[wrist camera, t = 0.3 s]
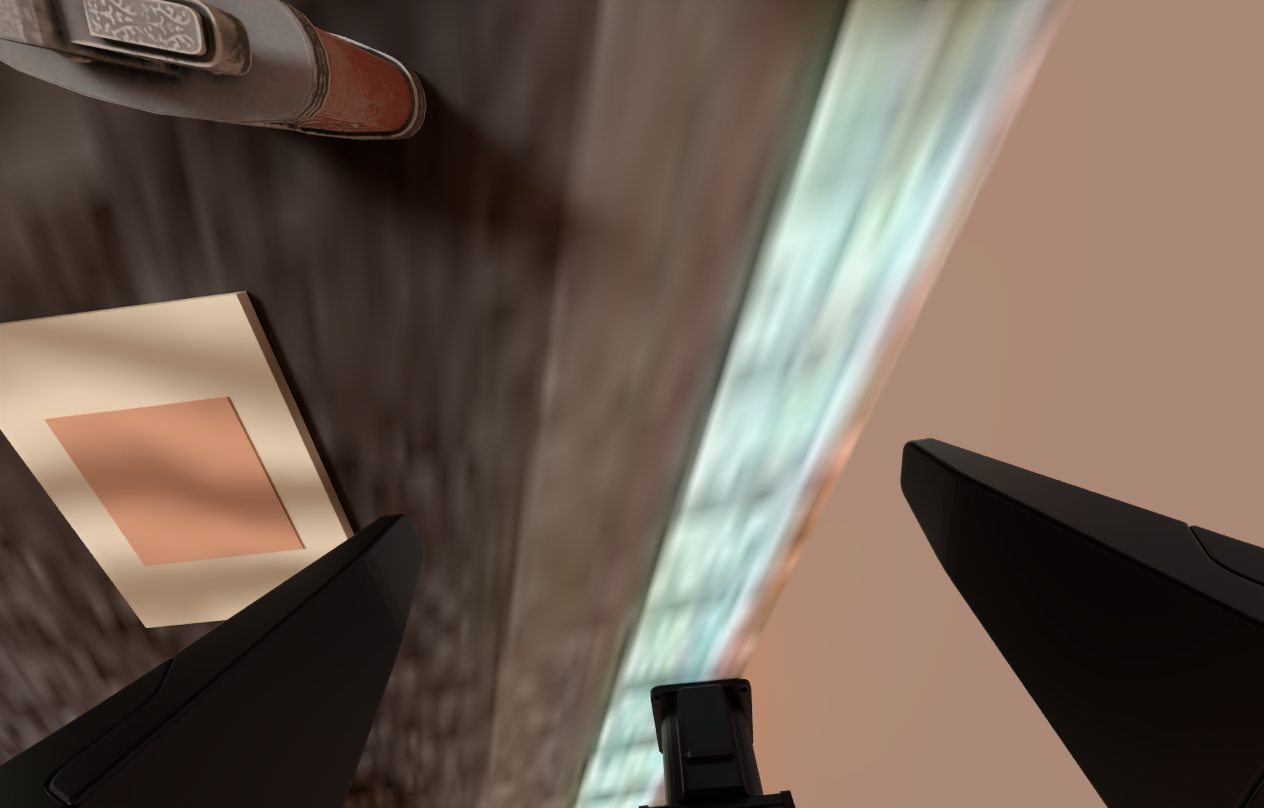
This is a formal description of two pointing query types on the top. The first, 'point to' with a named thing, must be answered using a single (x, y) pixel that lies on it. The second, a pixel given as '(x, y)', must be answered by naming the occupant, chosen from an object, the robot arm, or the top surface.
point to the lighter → (215, 64)
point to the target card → (171, 451)
